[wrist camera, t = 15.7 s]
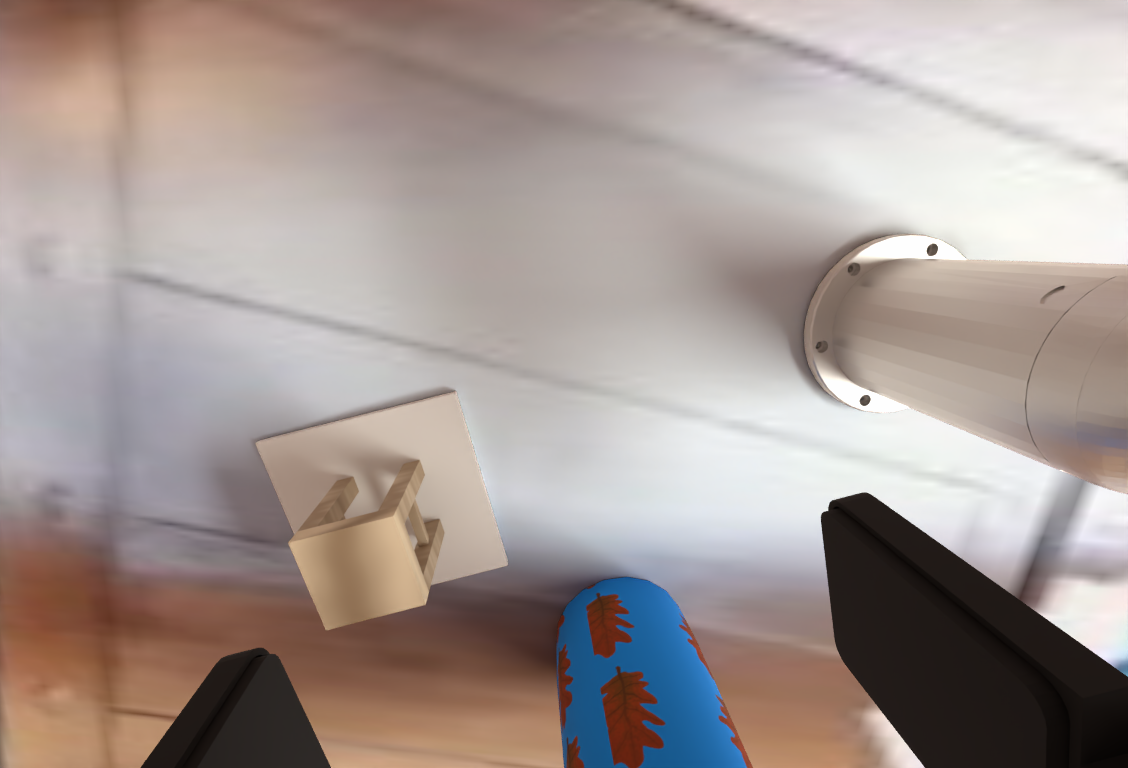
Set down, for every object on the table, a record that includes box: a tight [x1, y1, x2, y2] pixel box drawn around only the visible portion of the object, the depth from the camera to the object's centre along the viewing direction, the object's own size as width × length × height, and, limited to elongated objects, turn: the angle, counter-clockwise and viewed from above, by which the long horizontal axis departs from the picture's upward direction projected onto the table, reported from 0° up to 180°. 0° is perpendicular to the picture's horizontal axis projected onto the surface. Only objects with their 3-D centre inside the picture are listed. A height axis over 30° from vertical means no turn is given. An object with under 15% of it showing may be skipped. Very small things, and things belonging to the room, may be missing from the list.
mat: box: [255, 391, 508, 585], centre depth 38 cm, size 14×14×1 cm
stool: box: [288, 460, 445, 630], centre depth 34 cm, size 6×6×8 cm
